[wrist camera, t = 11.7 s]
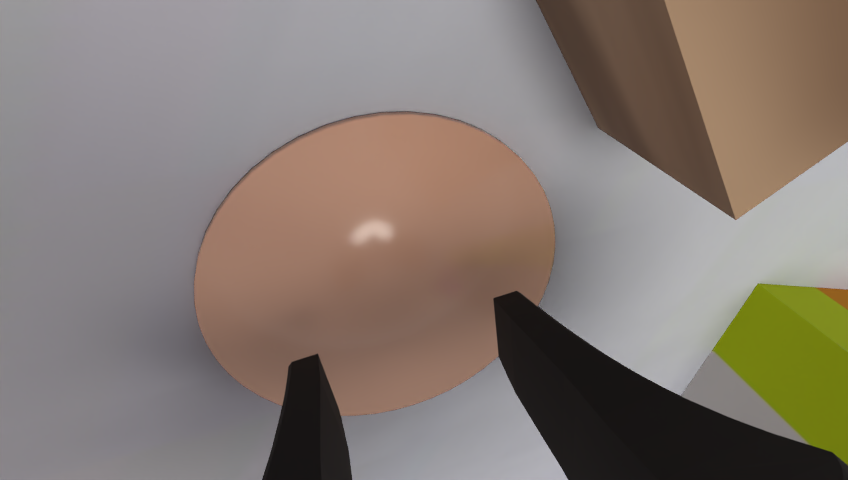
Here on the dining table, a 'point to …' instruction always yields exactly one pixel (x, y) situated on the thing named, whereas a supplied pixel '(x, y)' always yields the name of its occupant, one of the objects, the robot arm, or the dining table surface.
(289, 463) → the robot arm
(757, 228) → the dining table surface
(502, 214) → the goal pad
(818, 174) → the dining table surface
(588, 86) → the walnut block
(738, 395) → the puzzle toy
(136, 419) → the dining table surface
